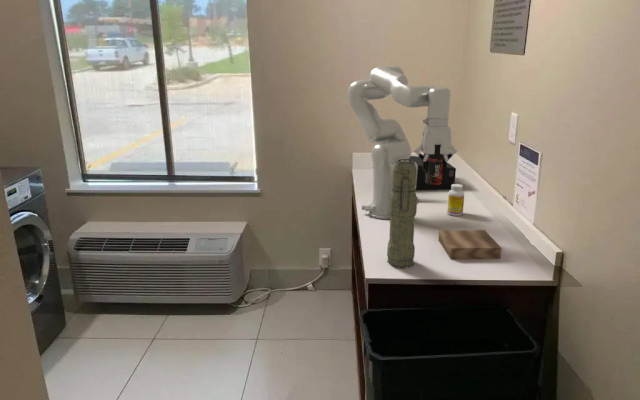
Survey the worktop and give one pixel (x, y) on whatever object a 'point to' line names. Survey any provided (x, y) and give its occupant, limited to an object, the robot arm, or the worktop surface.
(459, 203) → the supplement bottle
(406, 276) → the worktop surface
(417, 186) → the headphone box
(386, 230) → the worktop surface
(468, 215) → the worktop surface
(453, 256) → the walnut stand
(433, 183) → the deodorant
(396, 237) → the thermos
